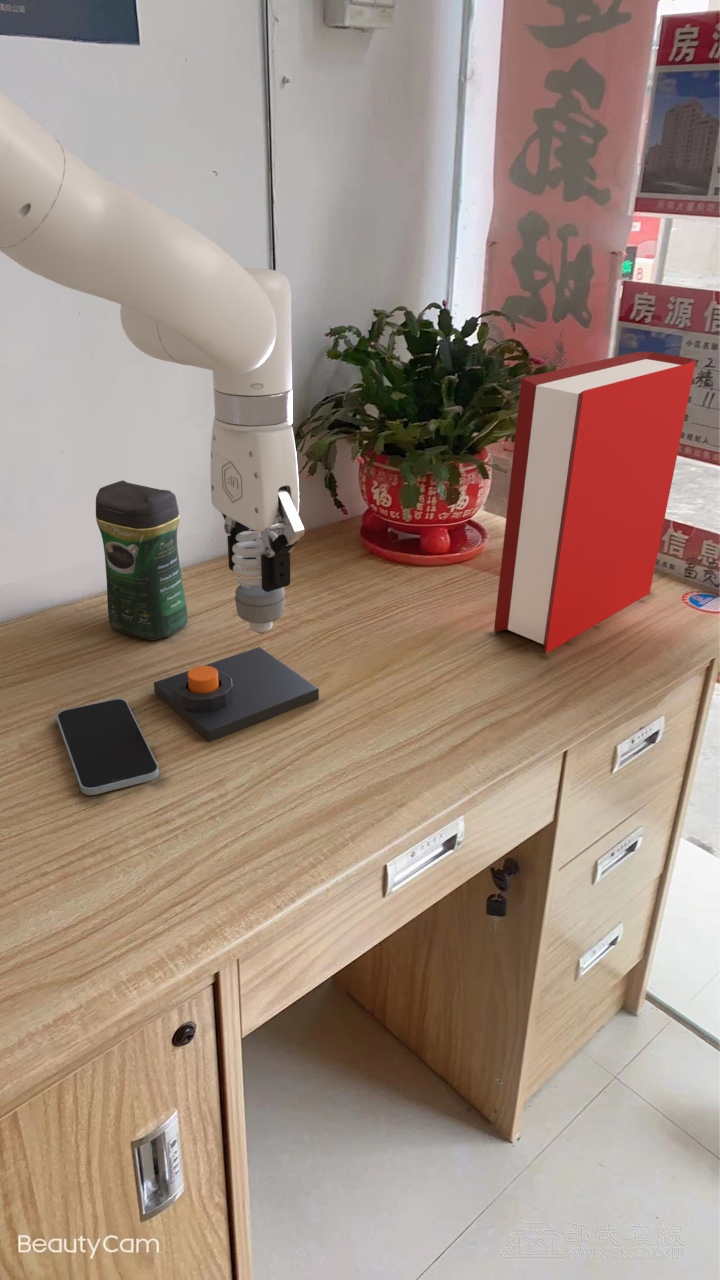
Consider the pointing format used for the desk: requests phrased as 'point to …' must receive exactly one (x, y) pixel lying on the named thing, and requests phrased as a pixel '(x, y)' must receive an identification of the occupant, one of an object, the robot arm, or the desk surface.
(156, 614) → the coffee jar
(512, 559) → the book
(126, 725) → the smartphone
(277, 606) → the light bulb
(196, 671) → the button
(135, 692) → the desk surface
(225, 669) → the black button base
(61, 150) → the robot arm
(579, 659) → the desk surface
